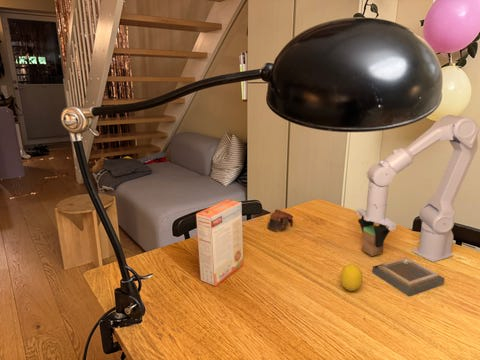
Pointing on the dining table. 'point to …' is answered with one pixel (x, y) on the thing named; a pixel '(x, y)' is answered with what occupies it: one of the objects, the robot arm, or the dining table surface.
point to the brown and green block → (370, 241)
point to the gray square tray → (408, 276)
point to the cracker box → (220, 241)
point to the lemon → (351, 277)
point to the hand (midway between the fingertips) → (372, 243)
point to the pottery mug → (281, 224)
